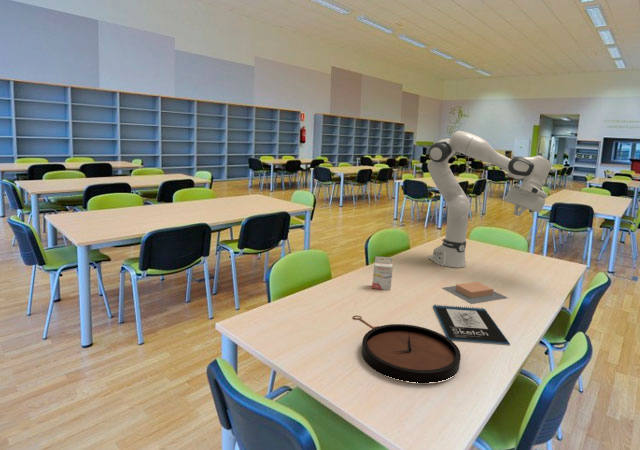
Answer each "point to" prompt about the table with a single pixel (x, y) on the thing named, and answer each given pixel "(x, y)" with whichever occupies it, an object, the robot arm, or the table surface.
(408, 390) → the table surface
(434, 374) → the wall clock
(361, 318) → the key
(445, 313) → the sketchbook
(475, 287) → the tile
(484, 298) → the mat
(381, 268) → the ink cartridge box
